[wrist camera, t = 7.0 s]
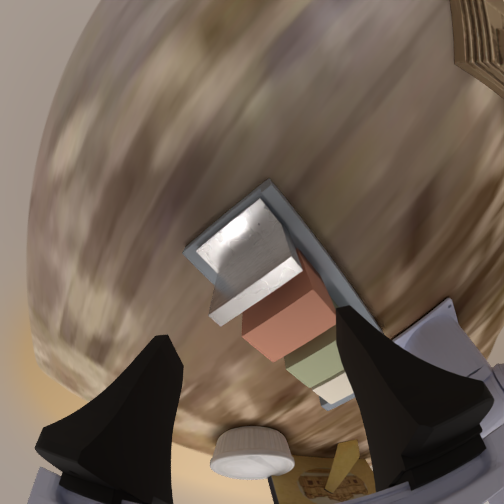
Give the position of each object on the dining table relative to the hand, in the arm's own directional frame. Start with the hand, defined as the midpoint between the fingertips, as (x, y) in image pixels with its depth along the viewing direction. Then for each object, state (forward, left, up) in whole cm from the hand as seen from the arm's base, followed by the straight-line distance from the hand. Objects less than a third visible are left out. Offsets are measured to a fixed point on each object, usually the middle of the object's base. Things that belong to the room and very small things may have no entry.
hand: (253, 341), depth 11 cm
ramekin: (-23, +19, -10) cm, 31 cm away
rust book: (-3, 0, -9) cm, 10 cm away
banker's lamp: (+6, -34, -10) cm, 36 cm away
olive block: (-7, 0, -9) cm, 12 cm away
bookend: (+1, 0, -9) cm, 9 cm away
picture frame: (-37, +13, -10) cm, 41 cm away
